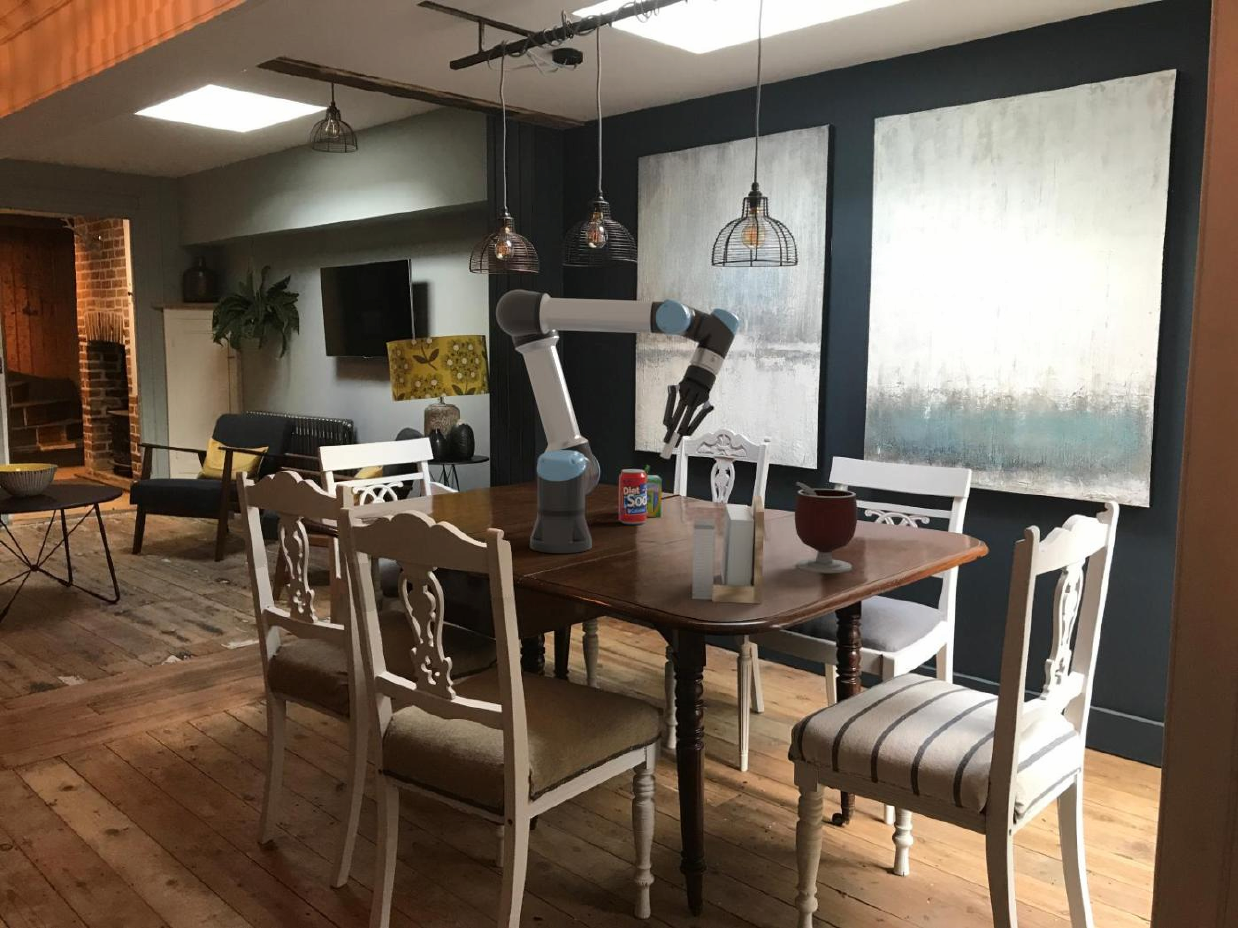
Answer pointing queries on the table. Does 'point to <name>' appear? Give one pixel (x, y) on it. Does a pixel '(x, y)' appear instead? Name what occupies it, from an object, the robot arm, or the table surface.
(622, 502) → the soda can
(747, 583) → the skincare box
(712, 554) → the grey carton
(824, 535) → the mate gourd
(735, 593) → the oak shelf corner
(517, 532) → the table surface
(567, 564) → the table surface
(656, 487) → the juice box
